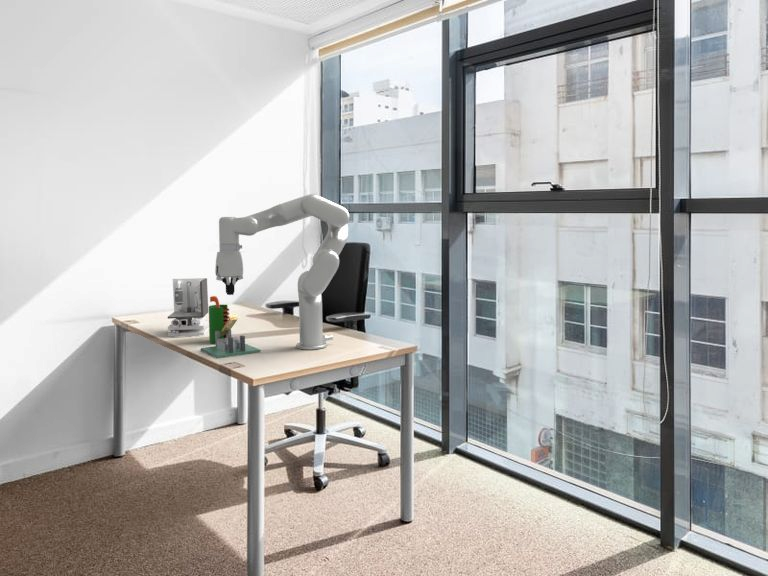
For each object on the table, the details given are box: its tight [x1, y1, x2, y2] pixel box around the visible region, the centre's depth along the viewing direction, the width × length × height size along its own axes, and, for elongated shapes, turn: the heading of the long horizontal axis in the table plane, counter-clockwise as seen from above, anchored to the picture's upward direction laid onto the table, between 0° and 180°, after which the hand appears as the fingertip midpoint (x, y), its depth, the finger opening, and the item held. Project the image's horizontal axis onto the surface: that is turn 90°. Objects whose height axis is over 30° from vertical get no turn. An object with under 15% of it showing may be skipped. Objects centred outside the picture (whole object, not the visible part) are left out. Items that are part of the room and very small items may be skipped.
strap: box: [220, 314, 238, 336], centre depth 246 cm, size 3×14×2 cm
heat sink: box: [215, 329, 240, 352], centre depth 247 cm, size 8×12×6 cm, turn 36°
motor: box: [208, 295, 230, 345], centre depth 264 cm, size 10×9×20 cm
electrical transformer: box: [167, 277, 209, 337], centre depth 282 cm, size 16×19×25 cm
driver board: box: [200, 334, 262, 359], centre depth 245 cm, size 18×18×7 cm
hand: (230, 294), depth 241 cm, fingers closed
